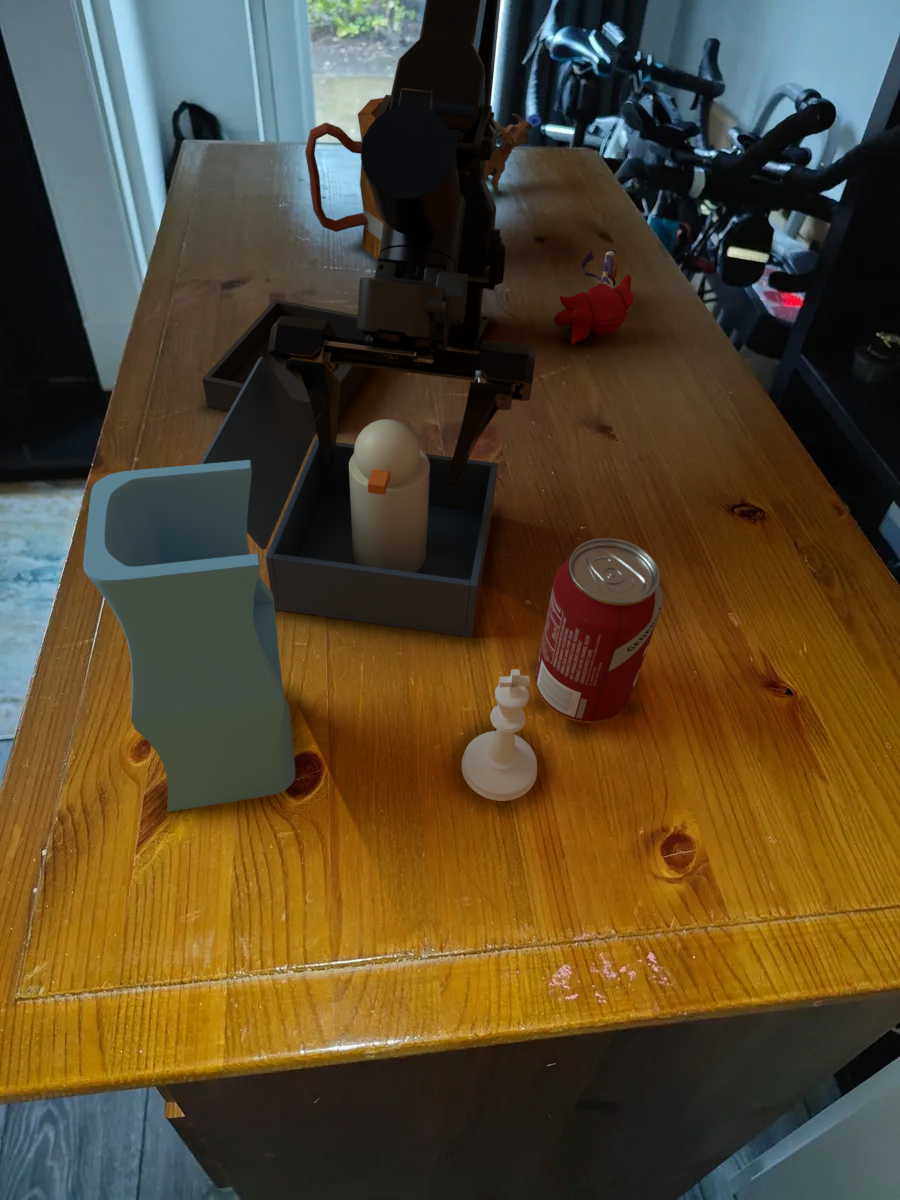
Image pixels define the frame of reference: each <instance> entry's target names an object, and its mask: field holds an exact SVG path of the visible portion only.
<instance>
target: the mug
mask: <svg viewBox="0 0 900 1200" xmlns="http://www.w3.org/2000/svg"><path fill="white" fill-rule="evenodd" d="M383 99H384V97H379V98H371V99H370V100H369V101H368V102H367V103H366V104H365V105H364V106H363V107H362V109H360V111H359V112H358V113H357V118H358V120H357V121H358V126H359V135H360V141H359V140H354V139H352V137H350V136H349V135H348V134H347V133H346V132H345V130H343V129H342V128H341V127H340V126H337V125H334V124H332V123H328V122H323V123H322V124H319V125H318V126H316V127H314V128H312V129H310V131H309V134H308V137H307V142H306V146H305V150H304V154H305V160H306V166H307V171H308V175H309V177H308V178H309V188H310V197H311V204H312V211H313V213H314V214H315V216H316V218H317V220H318V221H319V223H320V225H321V226H322V228H325V229H328V230H330V231H332V232H336V233H337V232H342V231H344V230H347V229H348V230H349V229H351V228H357V227H361V226H363V230H362V240H361V247H362V249H363V250H365V251H366V252H367V253H369V254H370V255H371V256H372V257H373V258H374V259H375V260H377V261H378V258H379V253H380V246H381V238H382V231H383V223H384V220H382V219H381V217H380V215H379V213H378V210H377V207H376V204H375V201H374V198H373V195H372V192H371V189H370V187H369V184H368V181H367V178H366V175H365V172H364V169H363V165H362V161H361V160H360V162H361V163H360V179H359V187H360V194H361V202H362V212H360V213H355V214H349V215H346V216H343V217H341V218H338V219H333V218H330V217H327V215H326V213H325V210H324V208H323V203H322V193H321V179H320V173H319V168H318V163H317V158H316V146H317V145H316V144H317V140H318V139H320V138H322V137H323V136H326V135H328V136H331V137H333V138H335V139H337V140H338V141H339V142H340V144H341V145H342V146H343V147H344V148H345V149H347V150H348V151H349V152H351V153H352V154H359V155H361V144H362V139H363V137H364V136H365V134H366V132H367V130H368V128H369V127H370V125H371V124H372V123H373V122H374V120H375V118H376V115H377V113H378V111H379V108H380V106H381V104H382V101H383Z"/></svg>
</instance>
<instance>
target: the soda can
mask: <svg viewBox="0 0 900 1200" xmlns="http://www.w3.org/2000/svg"><path fill="white" fill-rule="evenodd" d="M660 575H661V573H660V569H659V566H658V564H657V562H656V561H655V559H654V558H653V557H652V556H651V555H650V553H649V552H647V551H646V550H645V549H643V548H641V547H640V546H638V545H636V544H635V543H632V542H630V541H627V540H623V539H620V538H615V537H614V538H613V537H598V538H593V539H588V540H586V541H585V542H582V543H581V544H579V545H577V547H575V548H574V549H573V550H572V552H571V554H570V556H569V558H568V559H567V560H565V561H564V562H563V563H562V564H561V566H560V567H559V568H558V570H557V571H556V574H555V576H554V579H553V584H552V589H551V594H550V597H549V598H550V599H549V603H548V609H547V614H546V619H545V624H544V628H543V634H542V638H541V644H540V648H539V653H538V658H537V663H536V668H535V672H534V673H535V674H534V683H535V687H536V691H537V694H538V695H539V697H540V698H541V700H542V702H543V703H544V704H545V705H546V706H547V707H548V708H549V709H550V710H551V711H553V712H554V713H555V714H557V715H559V716H561V717H563V718H565V719H566V720H567V719H568V720H571V721H574V722H576V723H577V722H578V723H584V724H596V723H602V722H606V721H609V720H612V719H614V718H616V717H617V716H619V715H620V714H621V713H622V712H623V711H624V710H625V709H626V707H627V706H628V704H629V703H630V700H631V698H632V694H633V692H634V688H635V685H636V683H637V680H638V677H639V674H640V671H641V669H642V666H643V662H644V660H645V657H646V654H647V652H648V650H649V649H648V648H649V646H650V643H651V640H652V637H653V634H654V632H655V629H656V625H657V623H658V621H659V620H658V619H659V617H660V614H661V611H662V608H663V604H664V593H663V588H662V585H661V582H660V579H661V576H660Z"/></svg>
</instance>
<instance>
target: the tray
mask: <svg viewBox="0 0 900 1200" xmlns="http://www.w3.org/2000/svg"><path fill="white" fill-rule="evenodd" d="M281 316H290V317H298V318H306V319H315V320H323V321H328V322H329V323H330V325H331V326H332V328H333V329H334V331H335V332H336V333H337V335H338V336H339V337H342V338H350V339H358V340H367V341H368V336H369V335H365V334H363V333H362V331H361V330H359V329H357V317H358V314H354V313H349V312H344V311H338V310H334V309H328V308H323V307H318V306H312V305H308V304H302V303H298V302H293V301H289V300H288V301H287V300H282V299H277V298H274V299H273V300H272V302H271V303H270V304H269V305H268V306H267V307H266V308H265V309H264V310H263V312H262V313H260V315H258V317H257V318H256V319H255V320H254V321H253V322H252V324H251V325H250V326H248V328H247V329H246V330H245V331H244V332H243V333H242V334H241V335H240V337H239V338H238V339H237V340H236V341H235V342H234V343H233V344H232V346H230V348H228V349H227V351H226V352H224V354H223V355H222V356H221V358H219V360H218V361H217V362H216V363H215V364H214V365H213V366H212V367H211V368H210V370H208V372H207V373H206V374H205V375H204V376H203V377H202V385H203V390H204V395H205V401H206V407H207V408H211V409H216V410H221V411H224V412H229V411H230V409H231V407H232V405H233V403H234V402H235V400H236V398H237V396H238V395H239V393H240V391H241V389H242V387H243V386H244V384H245V382H246V380H247V379H248V377H249V375H250V373H251V372H252V370H253V368H254V366H255V364H256V363H257V361H258V359H259V358H261V357H263V358H264V359H265V360H266V362H267V363H268V365H269V366H270V367H271V369H272V370H273V372H274V373H275V375H276V376H277V377H278V379H279V380H280V382H281V383H282V385H283V386H284V387H285V389H286V390H287V392H288V393H289V395H290V396H291V397H292V399H293V400H294V402H295V403H296V404H297V406H298V407H299V409H300V410H301V412H302V413H303V414H304V416H305V417H306V419H307V420H308V422H309V423H310V424H311V426H312V427H313V429H314V430H315V431H316V432H317V429H316V424H315V419H314V414H313V410H312V406H311V403H310V400H309V396H308V393H307V390H306V388H305V385H304V384H302V383H301V382H300V381H299V380H298V379H297V378H296V377H295V376H293V375H292V374H291V373H290V372H289V371H288V370H286V369H285V368H284V367H283V366H282V365H281V364H280V363H279V362H278V361H277V360H276V359H275V358H274V357H273V356H272V355H270V354H269V353H268V347H269V339H270V332H271V328H272V326H273V325H274V323H275V322H276V321H277V320H278V319H279V318H280V317H281ZM380 355H381V354H379V355H378V357H380ZM370 370H371V368H367V367H358V366H350V365H342V364H340V365H339V368H338V369H337V370H336V371H334V372H333V373H332V374H333V375H334V376H335V377H336V378H337V380H338V381H339V382H340V383H341V385H340V399H339V412H338V417H339V416H340V414H341V413H342V412H343V410H344V409H345V407H346V405H347V404H348V403H349V401H350V400H351V398H352V397H353V395H354V394H355V392H356V391H357V389H358V388H359V386H360V384H361V383H362V382H363V379H365V377H366V376H367V374H368V373H369V371H370Z"/></svg>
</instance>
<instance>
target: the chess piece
mask: <svg viewBox="0 0 900 1200" xmlns="http://www.w3.org/2000/svg"><path fill="white" fill-rule="evenodd" d="M530 682H531V681H530V676H529V675H521V672H520V668H517V669H516V668H515V669H511V670H510V676H498V684H497V686H496V688H495V689H494V698H495V702H496V704H497V705H495V706H494V707H493V709H492V710H491V712H490V715H489V720H490V723H491V725H492V726H493V727H494V729H496V730H491V731H487V732H484V733H481V734H479V735H477V736H476V737H474V738H473V739H472V740H471V741H470V742H469V743H468V745H467V746H466V749H465V750H464V753H463V755H462V759H461V773H462V776H463V779H464V780H465V782H466V784H467V785H468V786H469V788H470V789H471V790H473V791H474V793H476V794H478V795H479V796H481V797H483V798H484V799H485V798H486V799H488V800H492V801H495V802H496V801H497V802H506V801H513V800H516V799H518V798H521V797H523V796H524V795H526V794H527V793H528V792H529V791H530V790H531V789H532V788H533V786H534V784H535V783H536V780H537V776H538V760H537V756H536V753H535V751H534V749H533V748H532V747H531V745H530V744H529V743H528V742H527V741H526V740H525V739H523V738H522V737H521V736H519V735H517V734H516V733H517V732H519V731H521V730H522V729H523V728H524V726H525V725H526V721H527V720H526V714H525V712H524V711H525V710H524V708H525V707H526V705H527V703H528V702H529V700H530V692H529V690H528V687H530Z"/></svg>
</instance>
